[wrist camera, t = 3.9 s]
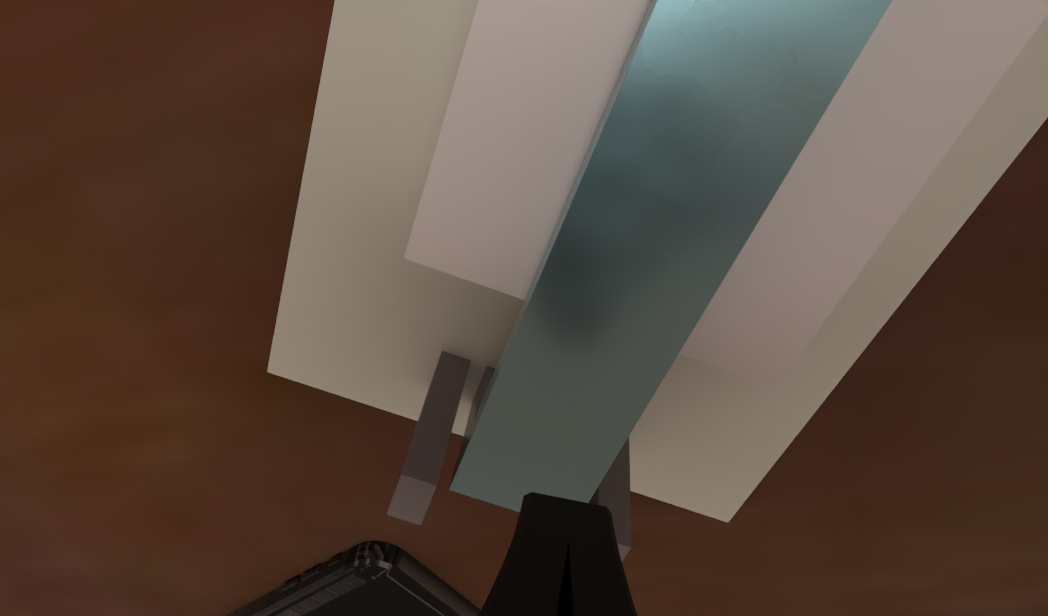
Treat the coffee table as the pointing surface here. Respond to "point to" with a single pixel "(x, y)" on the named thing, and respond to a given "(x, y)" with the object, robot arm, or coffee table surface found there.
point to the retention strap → (653, 229)
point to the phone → (364, 588)
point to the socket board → (429, 308)
